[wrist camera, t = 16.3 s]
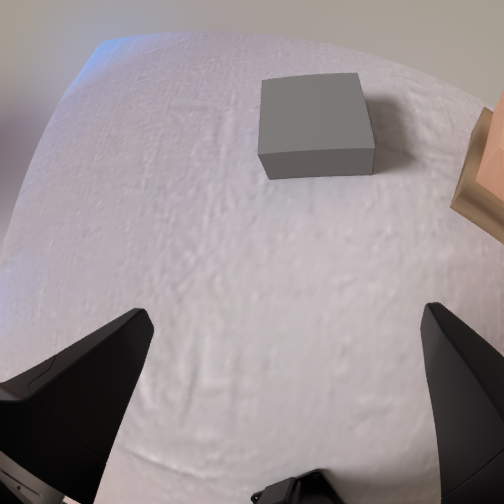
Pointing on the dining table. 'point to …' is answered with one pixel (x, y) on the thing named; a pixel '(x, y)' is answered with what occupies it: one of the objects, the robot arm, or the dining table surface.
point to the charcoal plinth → (315, 127)
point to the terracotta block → (494, 155)
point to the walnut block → (479, 185)
